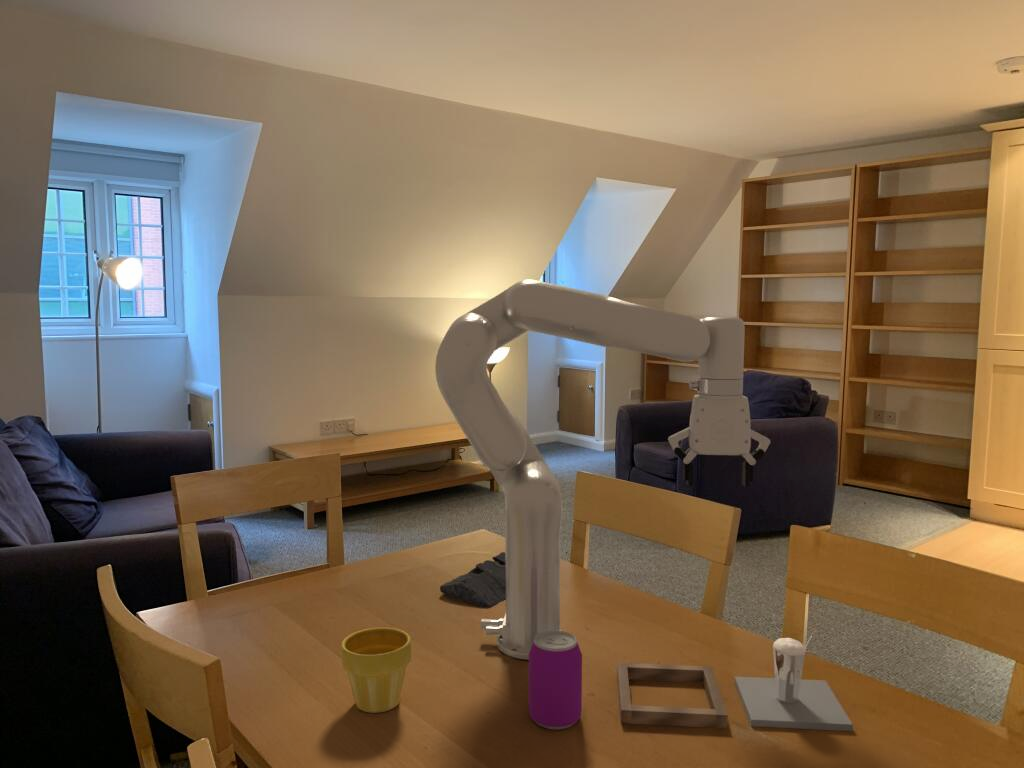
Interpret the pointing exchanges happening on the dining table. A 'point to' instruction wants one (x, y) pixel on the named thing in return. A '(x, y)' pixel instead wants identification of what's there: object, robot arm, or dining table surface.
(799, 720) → the slate pad
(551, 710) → the beverage can
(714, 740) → the dining table surface
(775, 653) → the milkshake
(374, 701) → the plant pot
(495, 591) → the dark slate chunk
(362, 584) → the dining table surface
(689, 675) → the walnut collar
